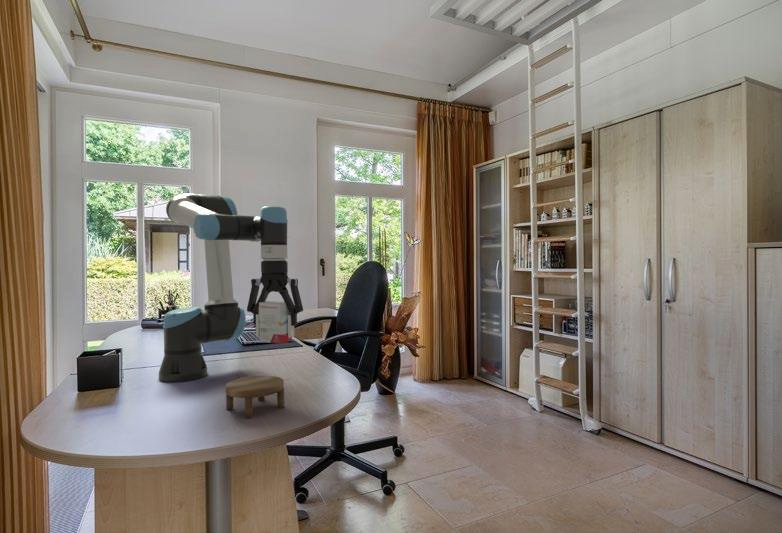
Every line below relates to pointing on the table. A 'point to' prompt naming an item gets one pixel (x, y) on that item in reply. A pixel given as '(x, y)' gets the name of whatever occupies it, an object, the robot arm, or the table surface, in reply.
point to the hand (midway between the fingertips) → (275, 336)
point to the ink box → (273, 322)
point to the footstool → (254, 391)
